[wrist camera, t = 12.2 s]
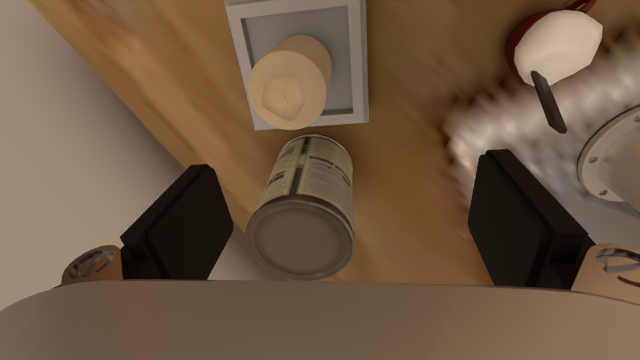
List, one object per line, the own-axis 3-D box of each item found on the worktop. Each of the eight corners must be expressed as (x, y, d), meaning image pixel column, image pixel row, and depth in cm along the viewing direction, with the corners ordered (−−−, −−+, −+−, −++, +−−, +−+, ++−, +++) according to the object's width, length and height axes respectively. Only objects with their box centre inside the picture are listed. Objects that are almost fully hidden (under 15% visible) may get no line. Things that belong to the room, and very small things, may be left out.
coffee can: (333, 210, 43) (326, 293, 31) (266, 182, 41) (232, 259, 30) (368, 153, 38) (376, 228, 26) (293, 119, 36) (264, 182, 24)
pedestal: (363, -18, 28) (365, -20, 23) (366, 106, 34) (369, 126, 29) (241, -2, 30) (218, 0, 24) (266, 113, 36) (251, 135, 31)
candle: (338, 89, 29) (333, 130, 20) (284, 100, 30) (258, 144, 21) (325, 26, 26) (313, 44, 17) (266, 42, 27) (228, 66, 18)
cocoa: (565, -17, 27) (703, -35, 17) (585, 43, 29) (719, 60, 19) (465, 52, 30) (527, 72, 20) (490, 101, 33) (558, 143, 22)
